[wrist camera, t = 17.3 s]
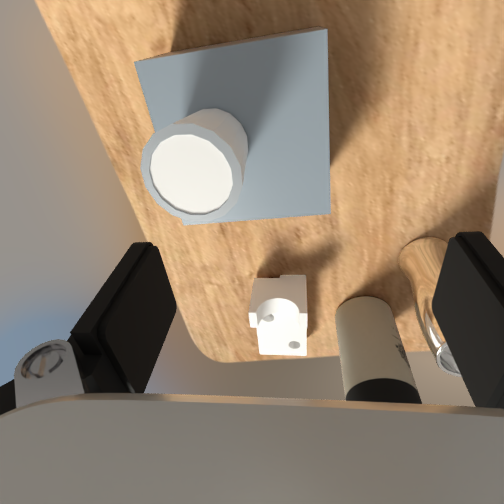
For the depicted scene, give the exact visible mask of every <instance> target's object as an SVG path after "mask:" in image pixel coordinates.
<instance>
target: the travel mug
mask: <svg viewBox="0 0 504 504" xmlns="http://www.w3.org/2000/svg"><path fill="white" fill-rule="evenodd" d="M335 322H336V330H337V338H338V345H339V353H340V361H341V368H342V376H343V384H344V391H345V399H346V401H364V402H387V403H409V404H422V402H421V399H420V396H419V393H418V390H417V387H416V384H415V381H414V378H413V375H412V372H411V369H410V365H409V362H408V360H407V356H406V353H405V350H404V347H403V344H402V341H401V338H400V335H399V332H398V329H397V326H396V323H395V320H394V316H393V313H392V310H391V308H390V306H389V305H388V304H387V303H386V302H384V301H383V300H381V299H378V298H375V297H368V296H364V297H356V298H353V299H350V300H348V301H346V302H344V303H343V304H342V305H341V306H340V307H339V308H338V309H337V311H336V314H335Z"/></svg>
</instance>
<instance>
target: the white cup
mask: <svg viewBox="0 0 504 504" xmlns="http://www.w3.org/2000/svg"><path fill="white" fill-rule="evenodd" d="M247 154H248V141H247V135H246V133H245V131H244V129H243V127H242V125H241V123H240V122H239V121H238V120H237V119H236V118H234V117H233V116H232V115H231V114H230V113H228V112H225V111H222V110H220V109H217V108H212V109H202V110H200V111H198V112H195V113H193V114H191V115H189V116H187V117H185V118H183V119H181V120H179V121H176V122H174V123H172V124H170V125H168V126H167V127H165V128H163V129H161V130H159V131H157V132H155V133H154V134H153V135H152V136H151V138H150V139H149V141H148V142H147V144H146V145H145V147H144V148H143V153H142V160H141V172H142V176H143V179H144V183H145V187H146V188H147V190H148V191H149V193H150V194H151V196H152V197H153V198H154V200H155V201H156V203H157V204H158V205H160V206H161V207H162V208H164V209H165V210H166V211H168V212H169V213H170V214H172V215H173V216H176V217H179V218H182V219H185V220H187V221H190V222H209V221H212V220H214V219H217V218H219V217H222V216H224V215H226V214H227V212H228V211H229V210H230V209H231V208H232V207H233V206H234V205H235V204H236V203H237V201H238V198H239V195H240V192H241V189H242V186H243V180H244V174H245V167H246V161H247Z"/></svg>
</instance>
